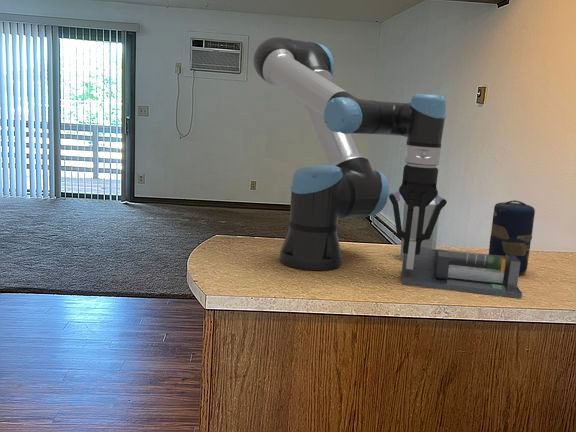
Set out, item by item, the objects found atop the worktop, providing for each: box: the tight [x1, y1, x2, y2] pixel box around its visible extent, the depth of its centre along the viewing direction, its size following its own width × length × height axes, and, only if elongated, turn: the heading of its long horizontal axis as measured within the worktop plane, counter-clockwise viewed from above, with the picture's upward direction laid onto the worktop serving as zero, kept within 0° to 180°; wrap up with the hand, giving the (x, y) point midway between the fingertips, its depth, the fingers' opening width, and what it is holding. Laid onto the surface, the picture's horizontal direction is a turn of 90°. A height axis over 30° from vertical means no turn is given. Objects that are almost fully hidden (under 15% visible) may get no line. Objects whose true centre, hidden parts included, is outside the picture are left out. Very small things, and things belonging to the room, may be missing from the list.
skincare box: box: [399, 200, 440, 260], centre depth 146 cm, size 8×7×16 cm
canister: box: [488, 200, 536, 275], centre depth 140 cm, size 10×10×18 cm
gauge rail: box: [401, 247, 523, 299], centre depth 127 cm, size 25×12×7 cm, turn 79°
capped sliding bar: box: [435, 251, 506, 284], centre depth 127 cm, size 14×5×6 cm, turn 79°
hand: (409, 267), depth 129 cm, fingers closed
